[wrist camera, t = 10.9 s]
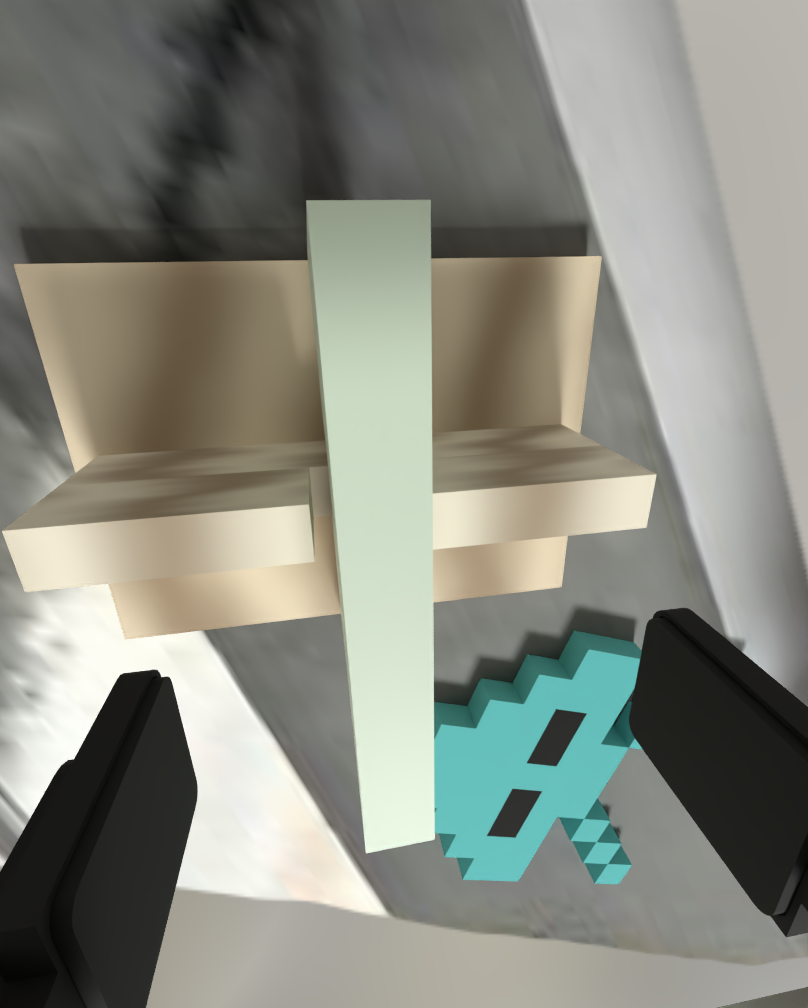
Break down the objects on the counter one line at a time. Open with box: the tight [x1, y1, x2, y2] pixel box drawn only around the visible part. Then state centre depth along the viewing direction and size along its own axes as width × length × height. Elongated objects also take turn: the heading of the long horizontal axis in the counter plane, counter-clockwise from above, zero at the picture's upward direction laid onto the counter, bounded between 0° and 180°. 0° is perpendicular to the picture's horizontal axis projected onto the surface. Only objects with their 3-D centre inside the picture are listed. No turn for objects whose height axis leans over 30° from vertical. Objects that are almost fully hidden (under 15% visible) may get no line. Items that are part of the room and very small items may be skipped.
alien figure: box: [434, 631, 642, 884], centre depth 34 cm, size 20×2×20 cm
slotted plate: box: [306, 200, 435, 853], centre depth 17 cm, size 16×2×12 cm, turn 1°
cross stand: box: [2, 256, 657, 639], centre depth 20 cm, size 22×16×8 cm
